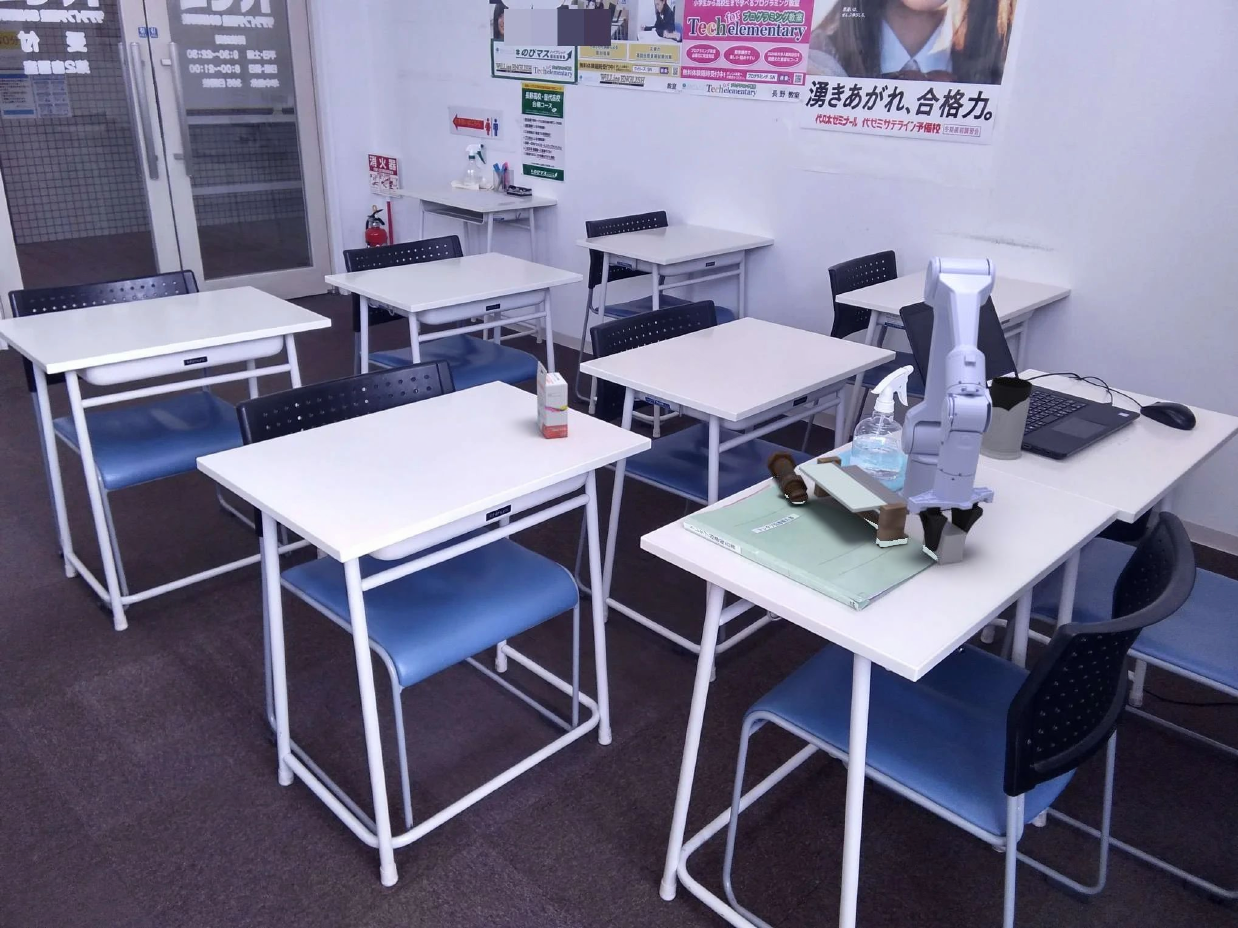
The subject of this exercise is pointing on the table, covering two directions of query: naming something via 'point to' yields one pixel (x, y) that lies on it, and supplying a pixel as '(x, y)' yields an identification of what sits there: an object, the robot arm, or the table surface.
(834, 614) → the table surface
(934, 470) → the robot arm
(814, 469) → the trapdoor
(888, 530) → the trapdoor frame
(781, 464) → the bolt
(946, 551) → the grey cube
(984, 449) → the glass holder
